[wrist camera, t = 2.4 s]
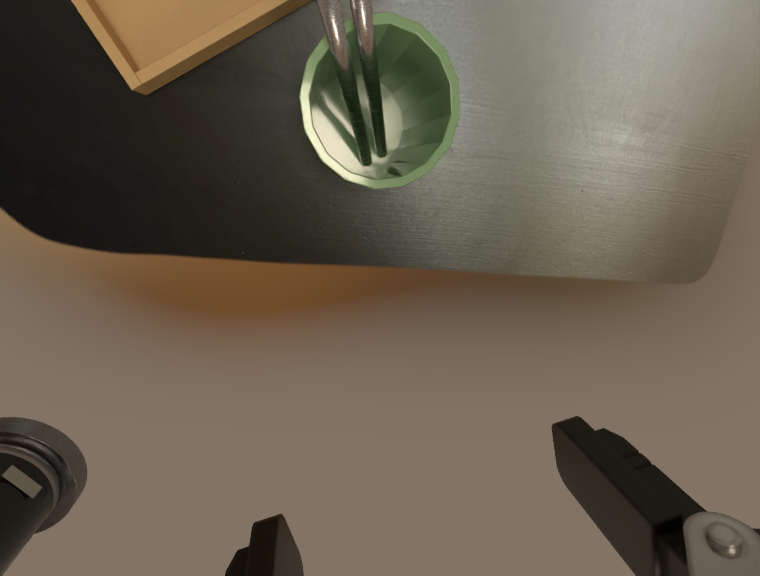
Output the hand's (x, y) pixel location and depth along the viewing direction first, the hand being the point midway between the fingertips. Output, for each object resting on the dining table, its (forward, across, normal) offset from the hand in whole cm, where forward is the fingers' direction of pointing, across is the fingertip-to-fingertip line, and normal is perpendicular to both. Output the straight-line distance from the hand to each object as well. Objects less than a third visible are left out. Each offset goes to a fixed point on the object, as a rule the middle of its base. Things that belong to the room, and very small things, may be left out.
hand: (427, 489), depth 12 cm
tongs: (+17, +3, +12) cm, 21 cm away
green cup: (+26, +4, +11) cm, 29 cm away
